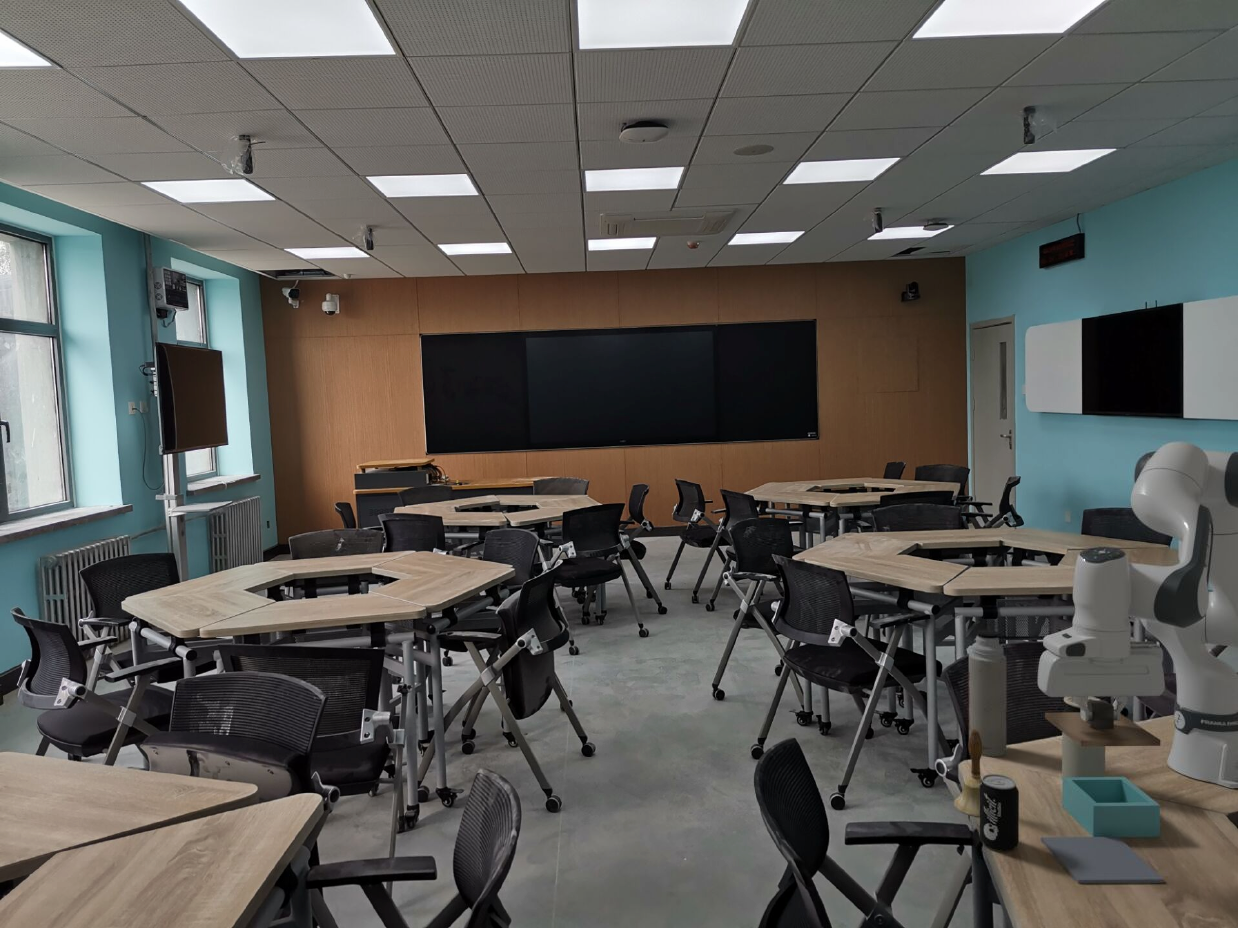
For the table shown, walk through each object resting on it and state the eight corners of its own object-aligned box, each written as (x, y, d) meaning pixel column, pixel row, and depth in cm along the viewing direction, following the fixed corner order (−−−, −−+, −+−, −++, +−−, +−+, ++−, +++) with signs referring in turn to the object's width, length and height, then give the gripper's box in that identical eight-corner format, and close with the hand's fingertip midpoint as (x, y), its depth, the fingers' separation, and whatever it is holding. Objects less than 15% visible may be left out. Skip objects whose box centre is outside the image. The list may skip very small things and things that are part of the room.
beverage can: (1022, 854, 152) (1022, 789, 152) (983, 851, 154) (983, 787, 153) (1013, 835, 159) (1013, 773, 158) (976, 833, 160) (976, 771, 159)
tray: (1118, 839, 156) (1118, 836, 156) (1163, 882, 142) (1163, 879, 142) (1040, 840, 157) (1040, 837, 157) (1078, 882, 143) (1078, 879, 143)
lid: (1117, 717, 154) (1118, 690, 154) (1160, 745, 141) (1160, 716, 141) (1045, 717, 155) (1045, 691, 154) (1080, 746, 142) (1081, 717, 141)
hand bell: (995, 821, 164) (995, 741, 163) (950, 811, 169) (949, 733, 168) (1001, 803, 171) (1001, 726, 170) (958, 794, 176) (957, 719, 175)
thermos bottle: (963, 750, 198) (962, 632, 196) (977, 739, 203) (977, 625, 201) (998, 759, 192) (998, 638, 190) (1011, 748, 197) (1011, 630, 195)
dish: (1123, 805, 169) (1124, 776, 168) (1159, 836, 157) (1159, 805, 156) (1062, 806, 169) (1062, 777, 169) (1093, 837, 157) (1093, 805, 157)
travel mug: (1101, 795, 173) (1102, 709, 172) (1058, 785, 178) (1059, 702, 177) (1107, 781, 180) (1108, 698, 178) (1065, 772, 185) (1066, 691, 183)
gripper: (1151, 636, 150) (1150, 712, 150) (1033, 637, 151) (1033, 713, 151) (1173, 646, 143) (1172, 725, 144) (1050, 647, 144) (1049, 726, 145)
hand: (1100, 719), depth 148 cm, fingers closed on lid, 3 cm apart
